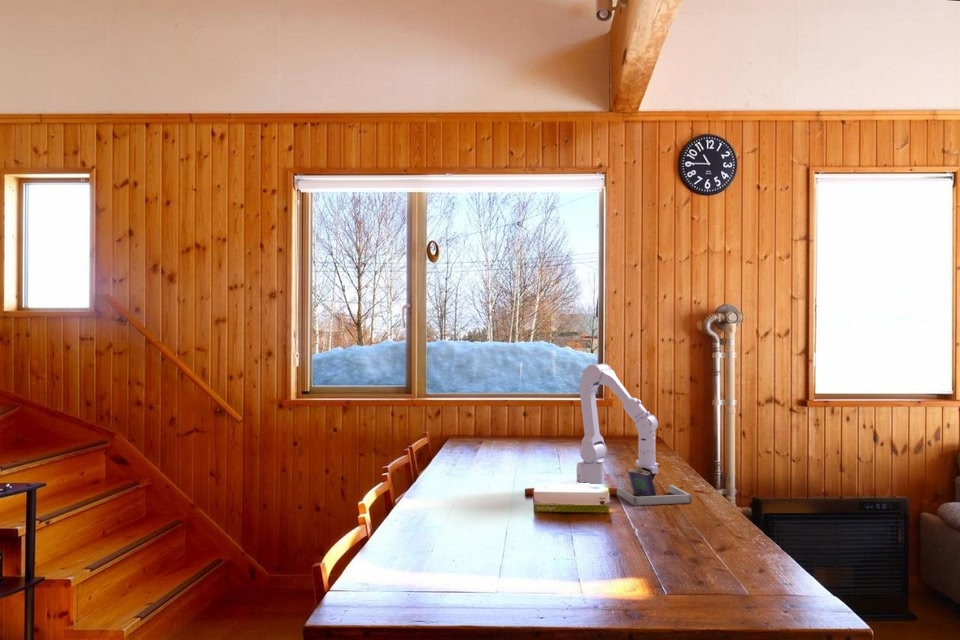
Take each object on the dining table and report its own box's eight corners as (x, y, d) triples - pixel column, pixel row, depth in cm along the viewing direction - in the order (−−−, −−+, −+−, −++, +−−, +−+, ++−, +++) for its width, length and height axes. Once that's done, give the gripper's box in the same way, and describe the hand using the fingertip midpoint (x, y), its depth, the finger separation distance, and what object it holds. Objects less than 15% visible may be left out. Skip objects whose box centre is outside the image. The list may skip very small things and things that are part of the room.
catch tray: (633, 505, 238) (633, 497, 238) (617, 494, 253) (617, 487, 253) (691, 502, 242) (691, 495, 242) (671, 492, 256) (671, 484, 256)
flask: (631, 494, 253) (625, 466, 251) (636, 489, 255) (630, 462, 253) (654, 499, 246) (647, 471, 244) (659, 495, 248) (652, 466, 246)
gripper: (666, 454, 246) (666, 494, 246) (649, 446, 261) (649, 485, 261) (646, 454, 245) (646, 495, 245) (630, 447, 259) (630, 486, 259)
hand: (646, 490), depth 253 cm, fingers closed
